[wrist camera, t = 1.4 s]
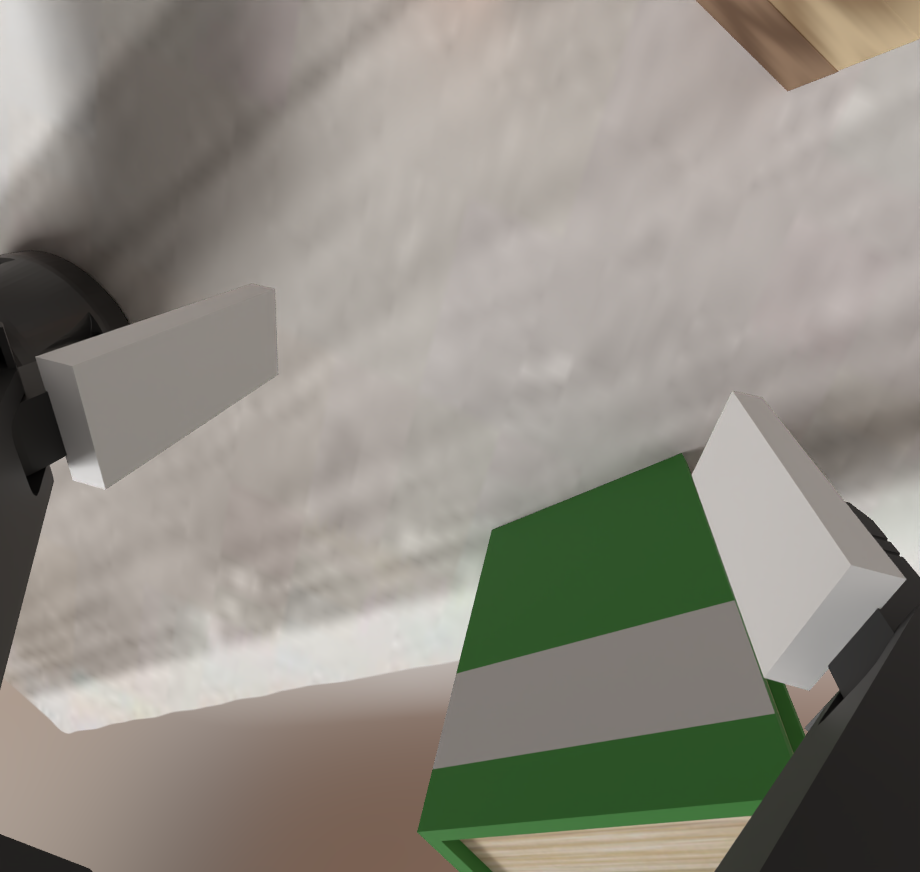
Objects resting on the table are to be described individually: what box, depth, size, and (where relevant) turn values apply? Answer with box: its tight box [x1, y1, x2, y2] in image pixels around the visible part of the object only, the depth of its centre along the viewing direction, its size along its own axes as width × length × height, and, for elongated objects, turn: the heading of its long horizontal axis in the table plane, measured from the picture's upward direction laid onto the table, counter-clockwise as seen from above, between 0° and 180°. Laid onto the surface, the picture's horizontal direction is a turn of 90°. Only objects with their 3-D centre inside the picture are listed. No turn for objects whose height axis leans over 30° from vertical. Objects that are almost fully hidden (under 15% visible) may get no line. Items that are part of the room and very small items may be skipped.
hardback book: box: [417, 453, 805, 872], centre depth 32 cm, size 18×7×24 cm, turn 125°
